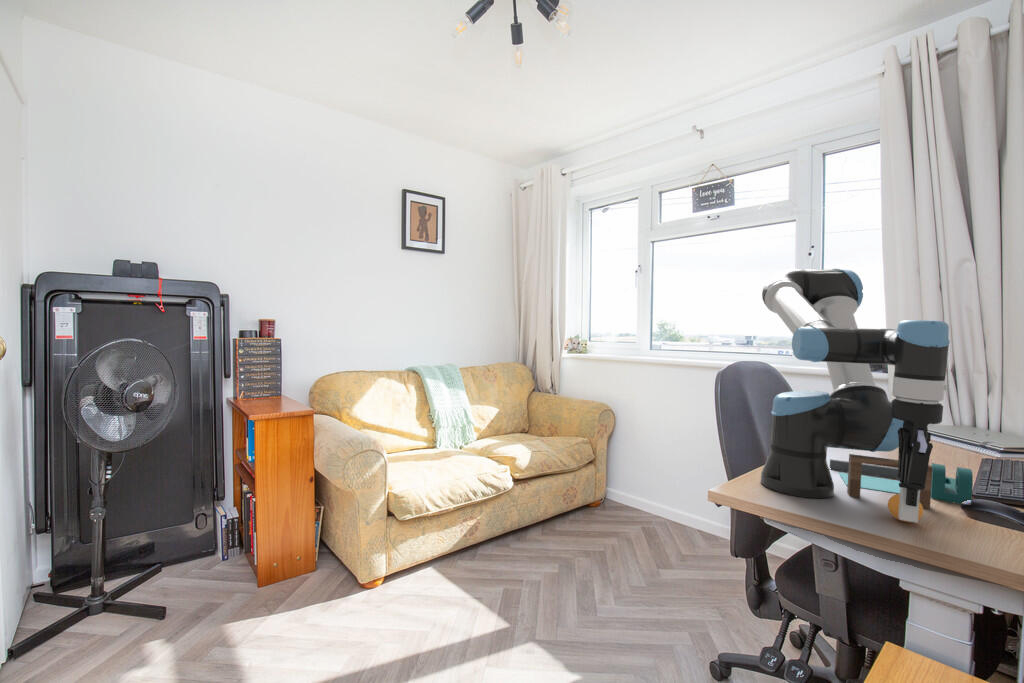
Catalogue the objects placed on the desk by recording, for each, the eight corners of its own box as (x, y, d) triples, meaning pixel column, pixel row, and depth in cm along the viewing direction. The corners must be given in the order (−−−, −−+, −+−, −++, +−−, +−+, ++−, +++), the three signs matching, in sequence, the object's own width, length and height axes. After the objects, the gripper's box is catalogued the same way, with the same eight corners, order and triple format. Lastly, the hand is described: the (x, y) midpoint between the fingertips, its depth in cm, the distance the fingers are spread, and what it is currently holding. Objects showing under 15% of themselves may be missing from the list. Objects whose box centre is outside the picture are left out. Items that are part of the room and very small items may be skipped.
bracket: (971, 507, 106) (973, 472, 106) (931, 499, 110) (933, 466, 110) (961, 488, 120) (963, 457, 120) (926, 482, 124) (928, 452, 124)
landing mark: (846, 485, 118) (846, 485, 118) (838, 472, 129) (838, 472, 129) (913, 496, 112) (913, 495, 112) (898, 481, 123) (898, 480, 123)
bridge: (929, 508, 103) (932, 467, 103) (849, 495, 110) (851, 456, 110) (925, 504, 106) (927, 463, 106) (847, 492, 113) (849, 453, 112)
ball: (892, 512, 93) (889, 486, 96) (886, 523, 97) (883, 498, 100) (929, 518, 90) (924, 491, 94) (921, 529, 94) (916, 503, 97)
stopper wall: (830, 469, 133) (830, 460, 133) (829, 467, 134) (829, 459, 134) (902, 479, 125) (902, 469, 125) (900, 477, 127) (901, 468, 127)
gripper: (954, 407, 84) (943, 537, 85) (932, 397, 95) (922, 512, 96) (901, 402, 87) (891, 527, 88) (885, 393, 98) (876, 504, 100)
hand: (907, 519), depth 92 cm, fingers closed
